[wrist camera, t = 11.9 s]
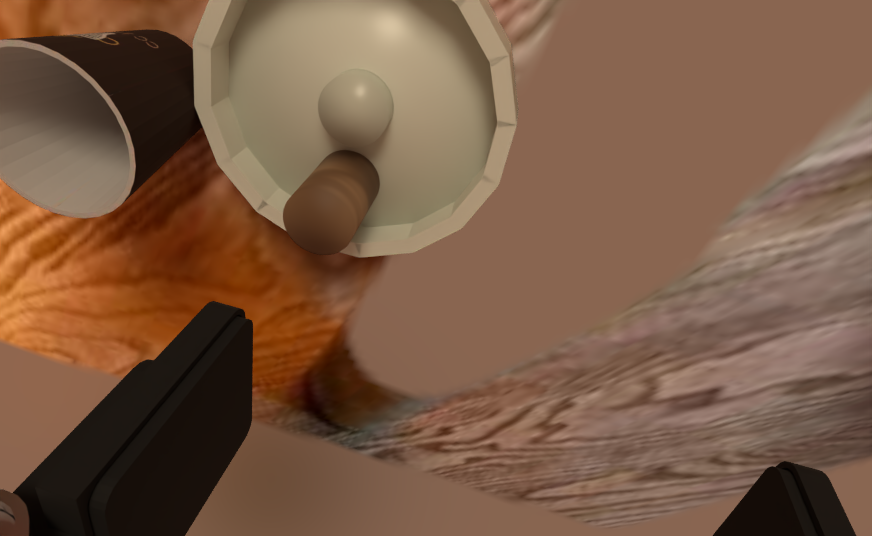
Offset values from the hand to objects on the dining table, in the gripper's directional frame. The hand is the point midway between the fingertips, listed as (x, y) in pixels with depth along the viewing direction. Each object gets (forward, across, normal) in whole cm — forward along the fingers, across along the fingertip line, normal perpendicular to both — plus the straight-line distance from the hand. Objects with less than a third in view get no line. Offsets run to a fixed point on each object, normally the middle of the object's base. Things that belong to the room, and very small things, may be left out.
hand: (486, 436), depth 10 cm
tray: (+25, +10, +3) cm, 27 cm away
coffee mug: (+25, +24, +5) cm, 35 cm away
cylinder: (+24, +10, +8) cm, 28 cm away
